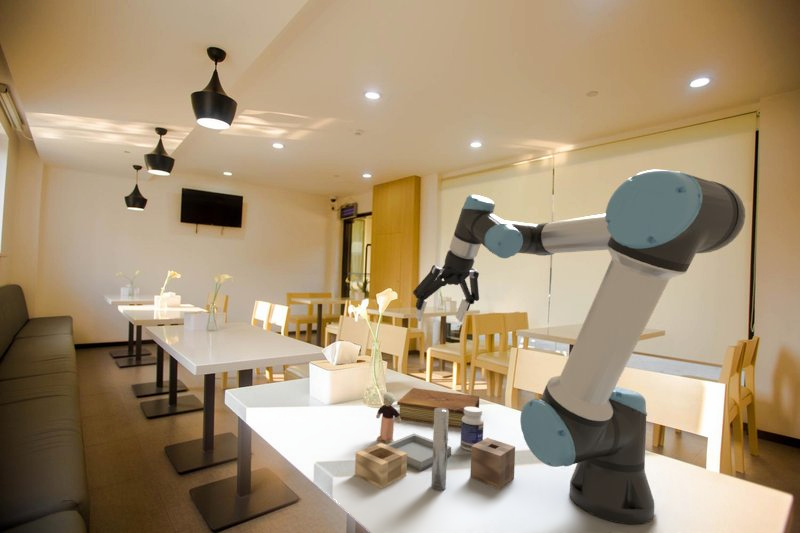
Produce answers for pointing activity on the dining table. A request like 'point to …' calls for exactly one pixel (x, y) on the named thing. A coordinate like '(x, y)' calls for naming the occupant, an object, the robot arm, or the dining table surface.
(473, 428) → the pill bottle
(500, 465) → the walnut block
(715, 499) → the dining table surface
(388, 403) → the grandmother figurine
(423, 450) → the tray
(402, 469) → the oak block
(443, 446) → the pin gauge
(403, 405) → the diary
